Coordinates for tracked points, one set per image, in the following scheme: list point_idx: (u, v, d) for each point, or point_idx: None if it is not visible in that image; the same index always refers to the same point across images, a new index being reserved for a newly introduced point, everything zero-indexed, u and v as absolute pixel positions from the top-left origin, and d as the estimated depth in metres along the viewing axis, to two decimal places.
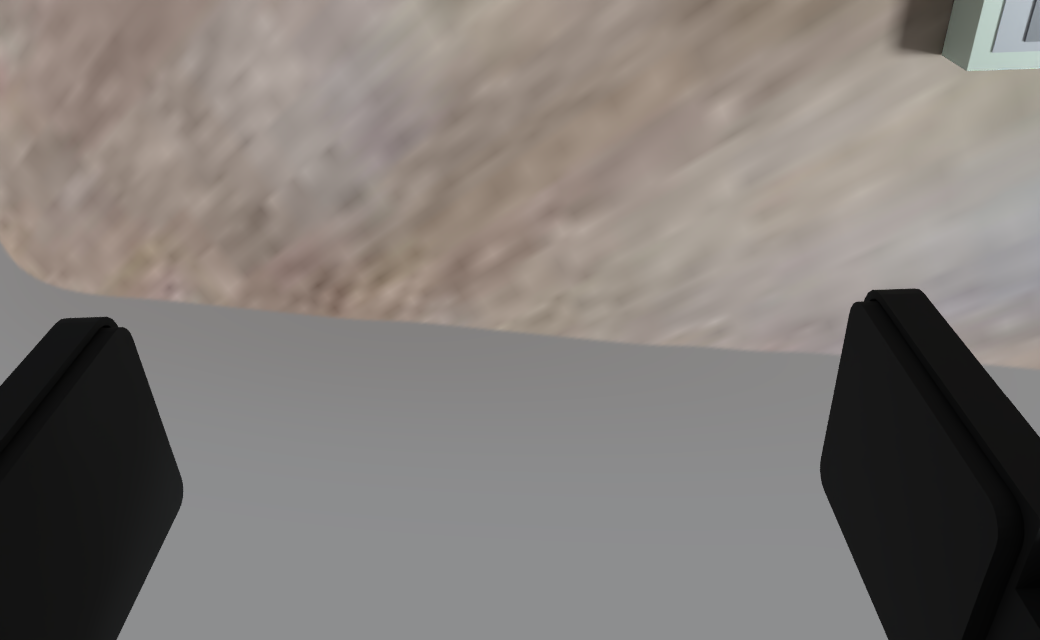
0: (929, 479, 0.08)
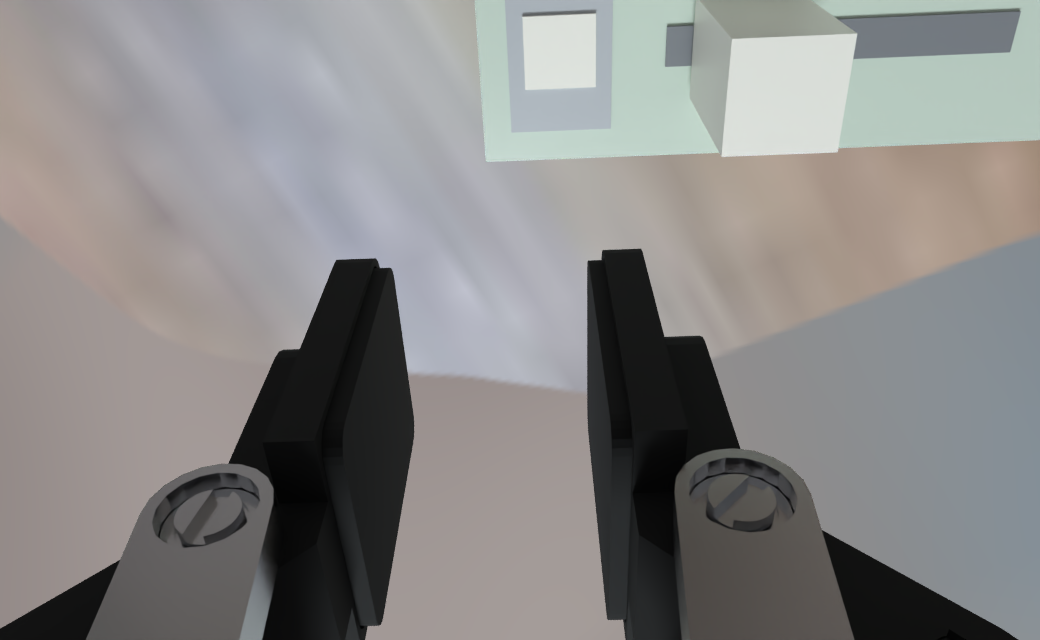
0: (602, 408, 0.09)
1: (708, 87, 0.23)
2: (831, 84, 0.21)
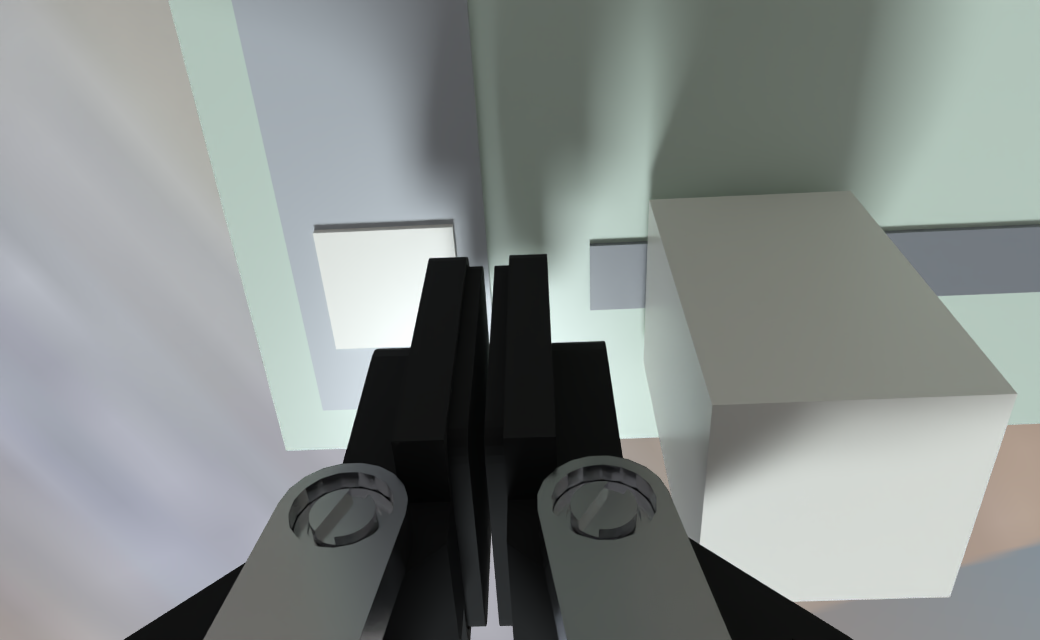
0: None
1: (670, 410, 0.11)
2: (945, 485, 0.09)
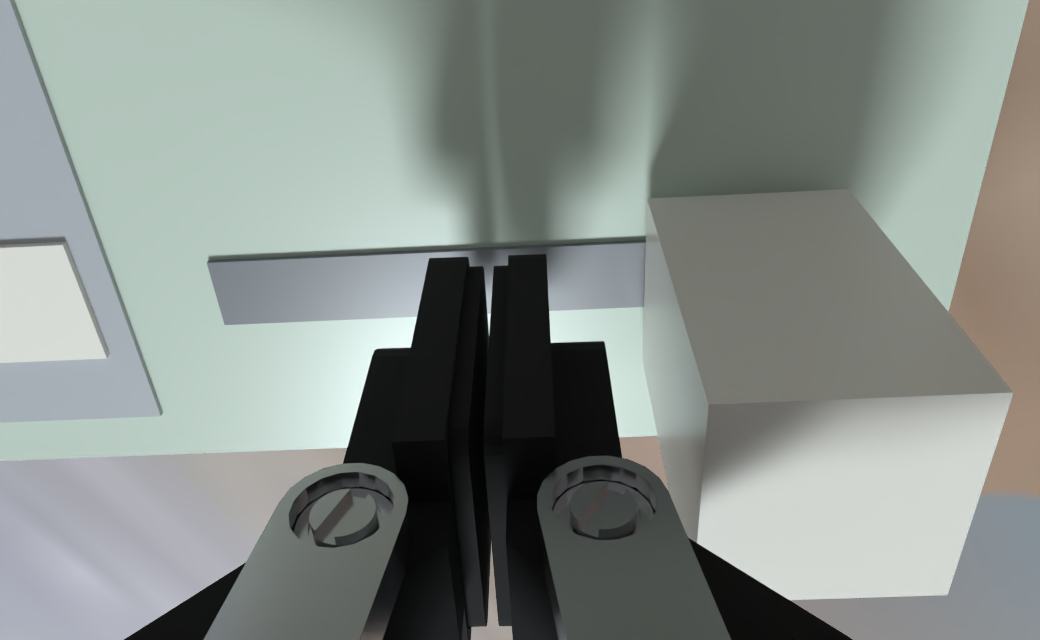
0: None
1: (668, 409, 0.11)
2: (942, 483, 0.09)
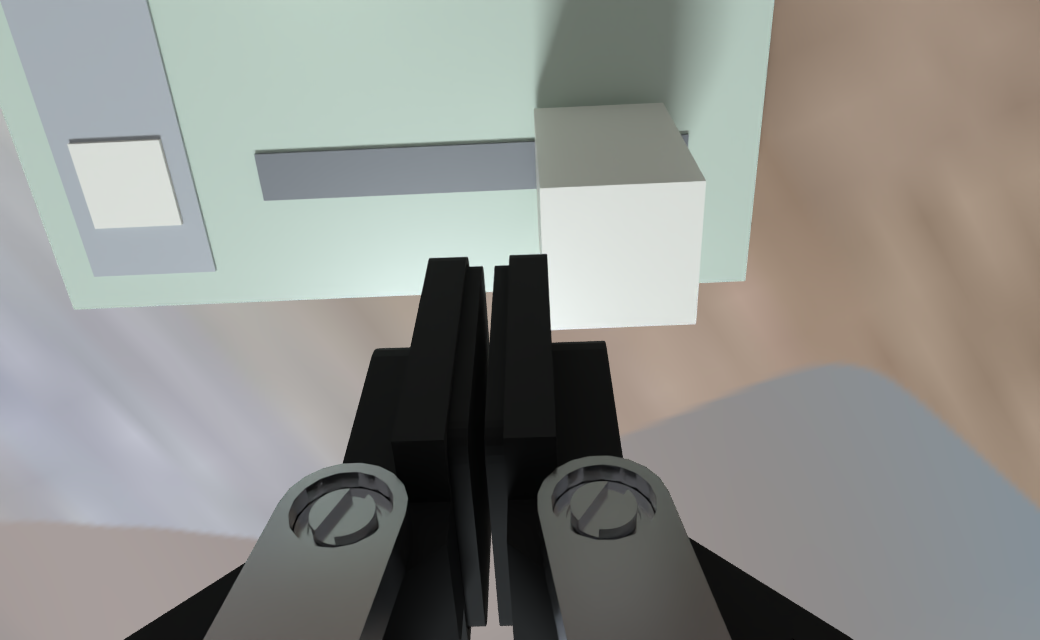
0: None
1: (539, 230, 0.18)
2: (678, 243, 0.16)
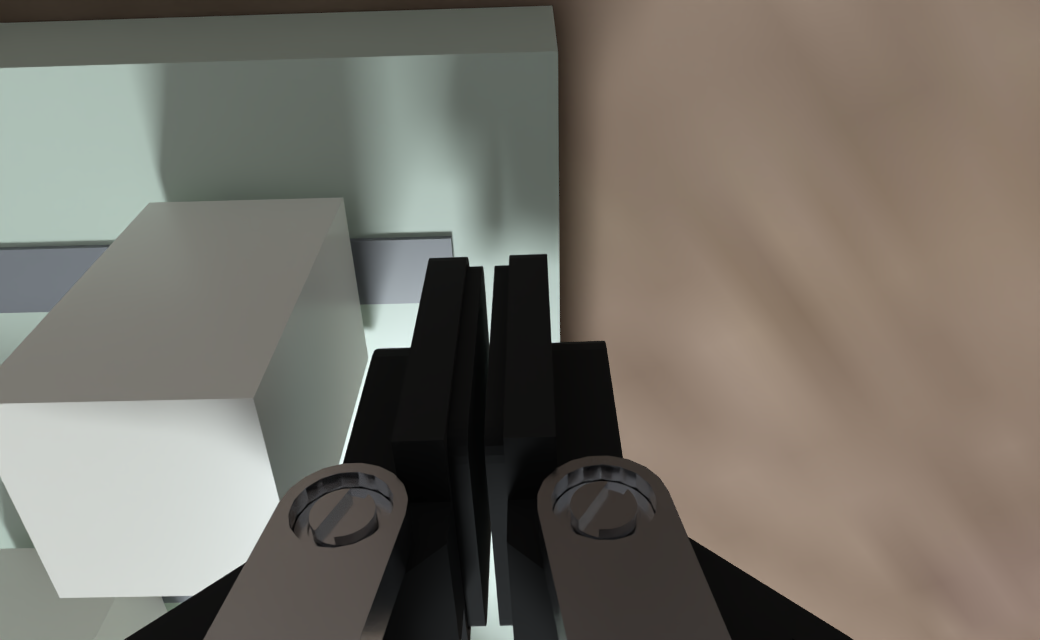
0: None
1: None
2: None
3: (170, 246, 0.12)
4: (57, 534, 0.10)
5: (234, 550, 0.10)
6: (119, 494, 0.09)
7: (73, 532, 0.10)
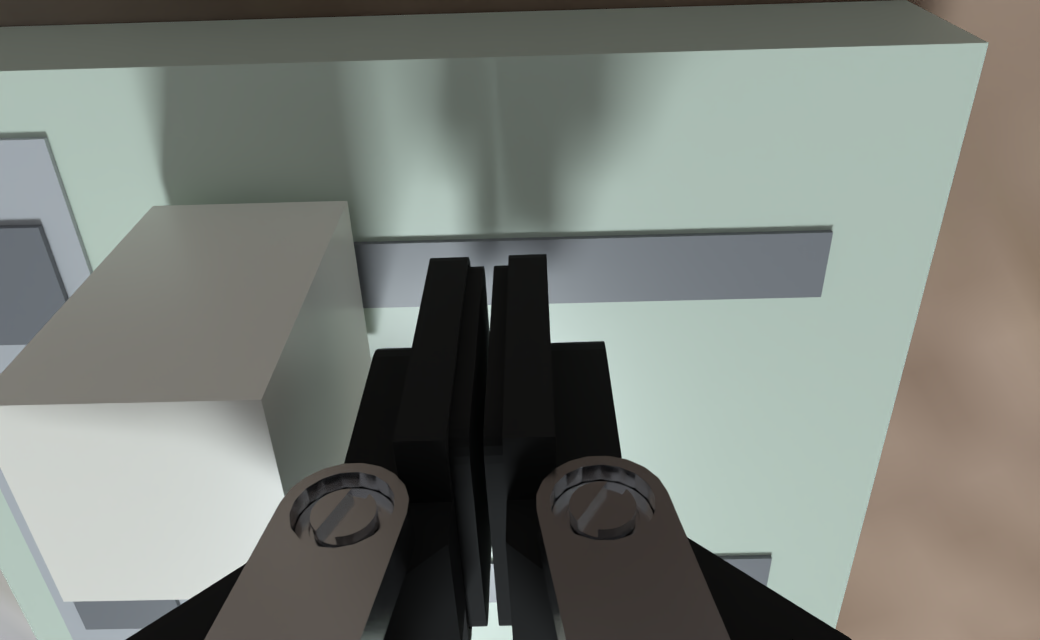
0: None
1: None
2: None
3: (175, 249, 0.12)
4: (62, 537, 0.10)
5: (240, 553, 0.10)
6: (126, 496, 0.09)
7: (78, 535, 0.10)
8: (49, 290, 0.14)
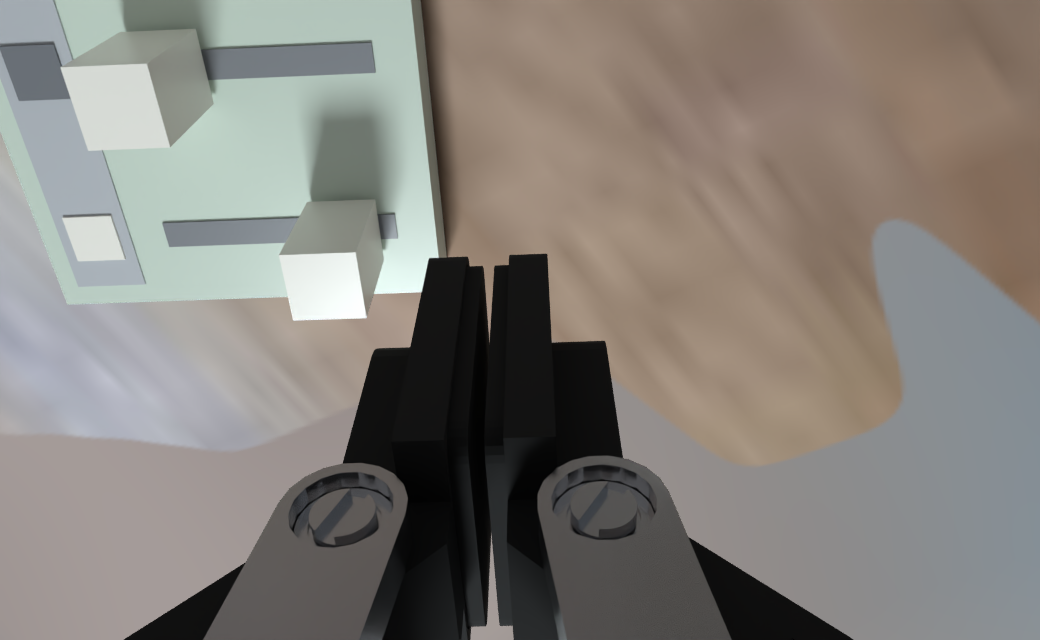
0: None
1: None
2: (349, 279, 0.33)
3: None
4: None
5: None
6: None
7: None
8: None
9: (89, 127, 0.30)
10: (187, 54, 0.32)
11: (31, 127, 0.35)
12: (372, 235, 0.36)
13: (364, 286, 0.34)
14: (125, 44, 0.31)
